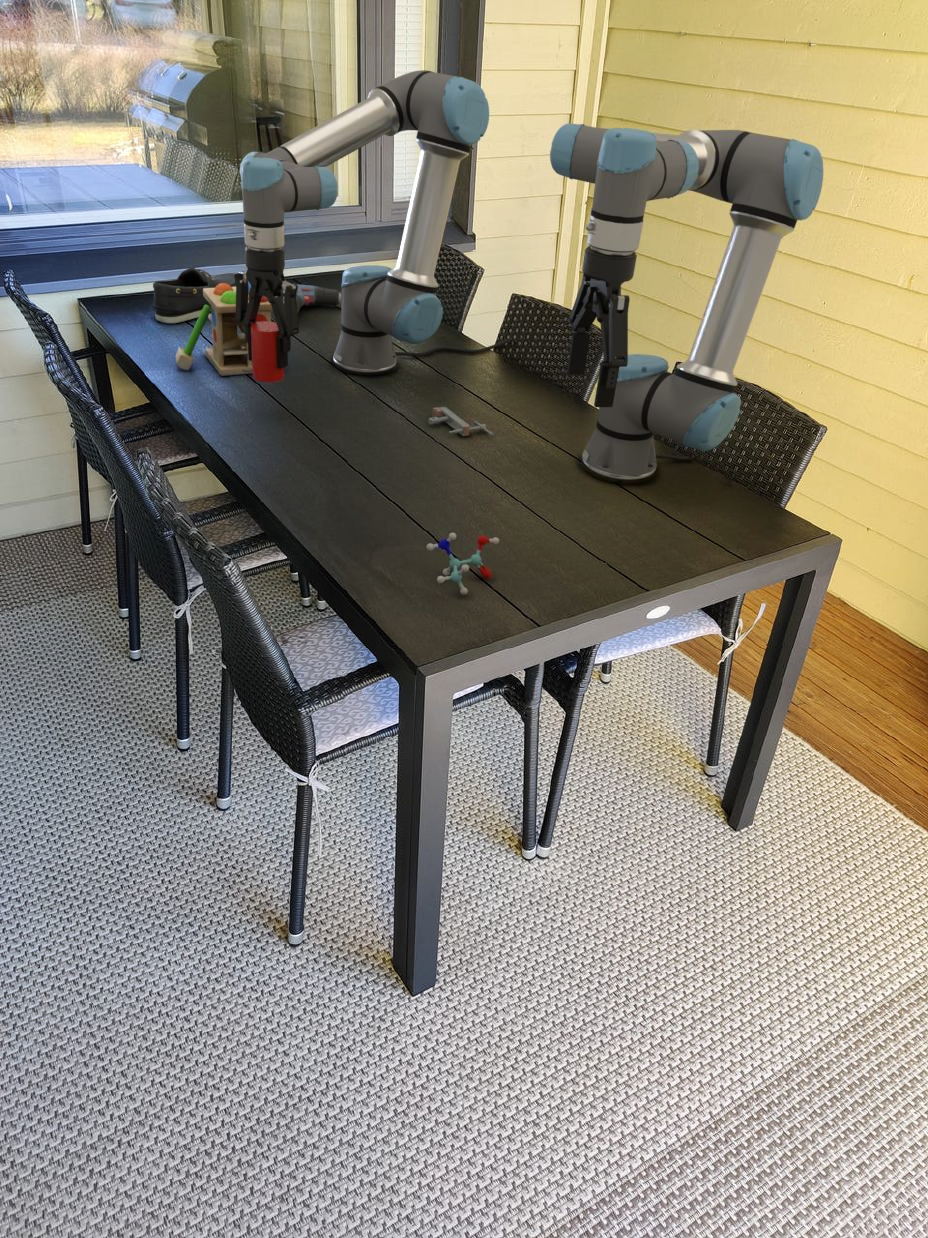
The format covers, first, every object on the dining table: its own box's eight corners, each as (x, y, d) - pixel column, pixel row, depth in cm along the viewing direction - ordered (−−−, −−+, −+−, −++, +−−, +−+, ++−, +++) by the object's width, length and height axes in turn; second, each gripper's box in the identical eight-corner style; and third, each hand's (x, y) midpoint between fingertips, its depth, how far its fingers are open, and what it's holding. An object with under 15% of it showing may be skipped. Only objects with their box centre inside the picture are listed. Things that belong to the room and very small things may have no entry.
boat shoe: (261, 302, 273) (259, 263, 267) (172, 325, 249) (168, 283, 243) (227, 293, 278) (225, 255, 273) (137, 316, 254) (132, 274, 249)
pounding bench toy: (183, 379, 220) (176, 299, 210) (169, 357, 231) (162, 280, 221) (282, 371, 230) (280, 294, 220) (264, 350, 240) (262, 276, 230)
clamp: (420, 409, 212) (460, 403, 217) (420, 418, 213) (460, 412, 218) (454, 436, 202) (496, 430, 206) (454, 446, 203) (495, 439, 208)
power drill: (335, 306, 256) (344, 285, 273) (264, 300, 255) (277, 279, 272) (335, 327, 259) (344, 304, 276) (264, 320, 258) (277, 299, 275)
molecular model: (490, 589, 152) (470, 528, 150) (436, 605, 155) (416, 545, 154) (511, 574, 162) (492, 517, 161) (460, 589, 166) (441, 533, 164)
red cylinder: (279, 369, 207) (278, 320, 201) (287, 380, 202) (286, 330, 196) (249, 371, 205) (247, 322, 199) (256, 383, 200) (254, 332, 194)
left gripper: (211, 240, 189) (218, 357, 202) (295, 260, 183) (297, 378, 196) (235, 234, 195) (240, 347, 208) (317, 252, 189) (318, 368, 202)
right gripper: (561, 226, 150) (543, 360, 162) (616, 272, 130) (591, 421, 142) (607, 228, 152) (586, 361, 164) (668, 273, 132) (639, 421, 144)
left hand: (268, 362), depth 202 cm, fingers closed on red cylinder, 6 cm apart
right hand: (588, 389), depth 153 cm, fingers open, 13 cm apart
